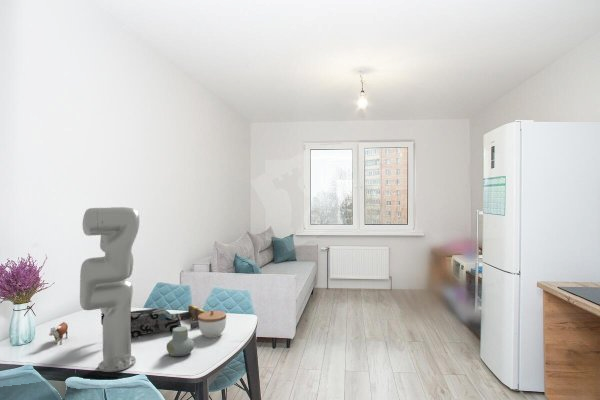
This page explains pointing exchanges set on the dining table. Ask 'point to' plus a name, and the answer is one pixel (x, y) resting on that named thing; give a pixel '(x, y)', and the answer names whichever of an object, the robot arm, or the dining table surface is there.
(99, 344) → the dining table surface
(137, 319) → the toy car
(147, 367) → the dining table surface
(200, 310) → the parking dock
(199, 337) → the dining table surface
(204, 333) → the lidded bowl
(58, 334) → the bull figurine
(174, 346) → the air freshener
